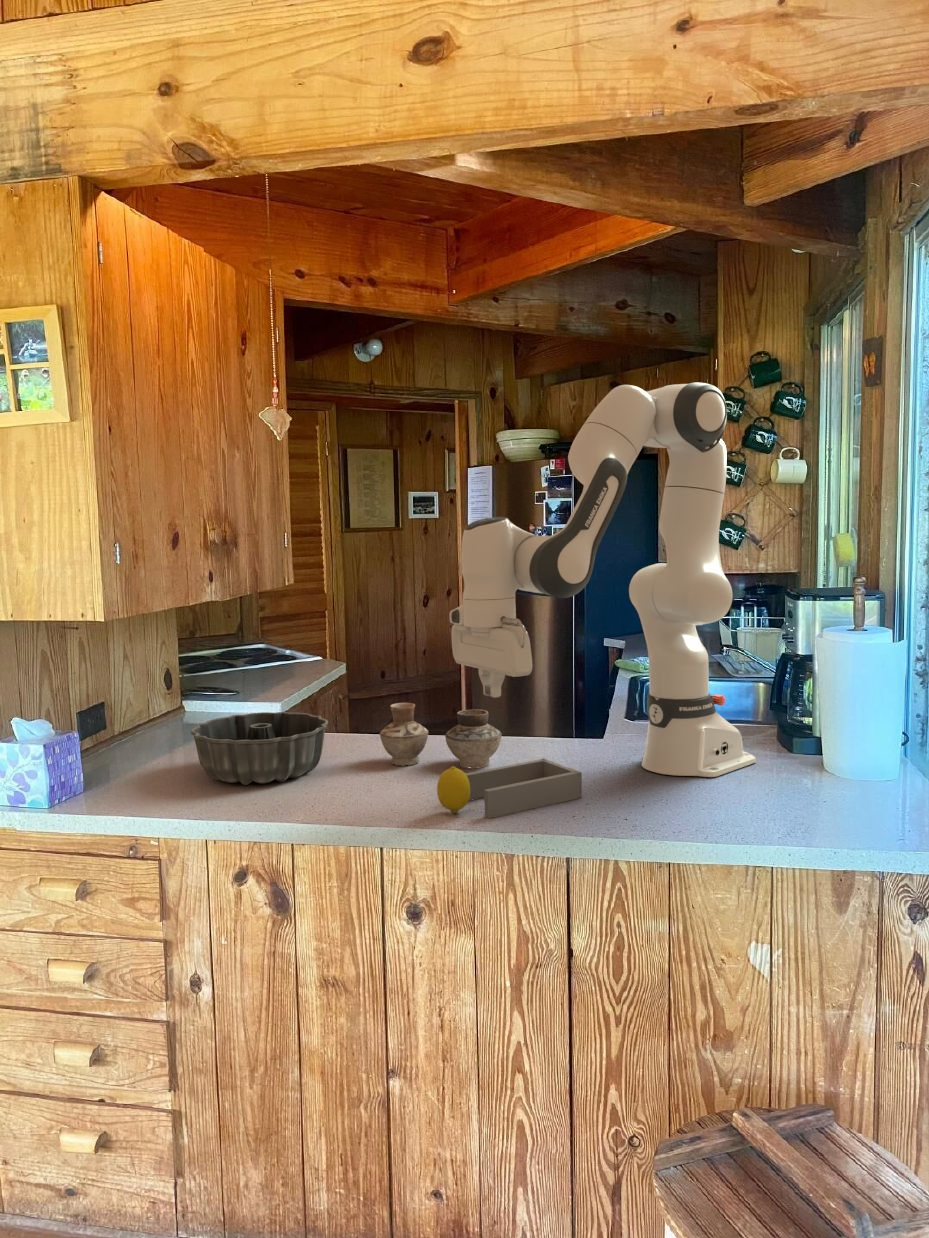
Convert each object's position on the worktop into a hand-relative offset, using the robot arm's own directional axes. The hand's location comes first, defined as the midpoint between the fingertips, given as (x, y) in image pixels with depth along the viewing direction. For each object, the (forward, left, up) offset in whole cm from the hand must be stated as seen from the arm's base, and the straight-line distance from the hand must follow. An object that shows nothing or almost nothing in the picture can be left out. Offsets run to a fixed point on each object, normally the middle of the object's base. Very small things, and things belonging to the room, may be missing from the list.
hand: (492, 696), depth 155 cm
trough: (-5, 0, -19) cm, 19 cm away
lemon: (+8, 0, -19) cm, 21 cm away
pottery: (-5, -29, -19) cm, 35 cm away
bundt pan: (+27, -44, -19) cm, 55 cm away
